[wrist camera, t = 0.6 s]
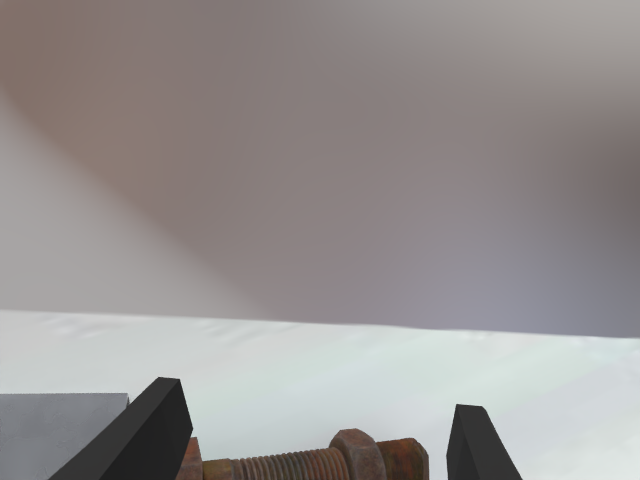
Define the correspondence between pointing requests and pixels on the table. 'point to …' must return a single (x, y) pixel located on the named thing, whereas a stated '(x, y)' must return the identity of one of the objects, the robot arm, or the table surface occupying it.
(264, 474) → the bolt
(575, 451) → the table surface
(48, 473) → the plate
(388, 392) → the table surface
